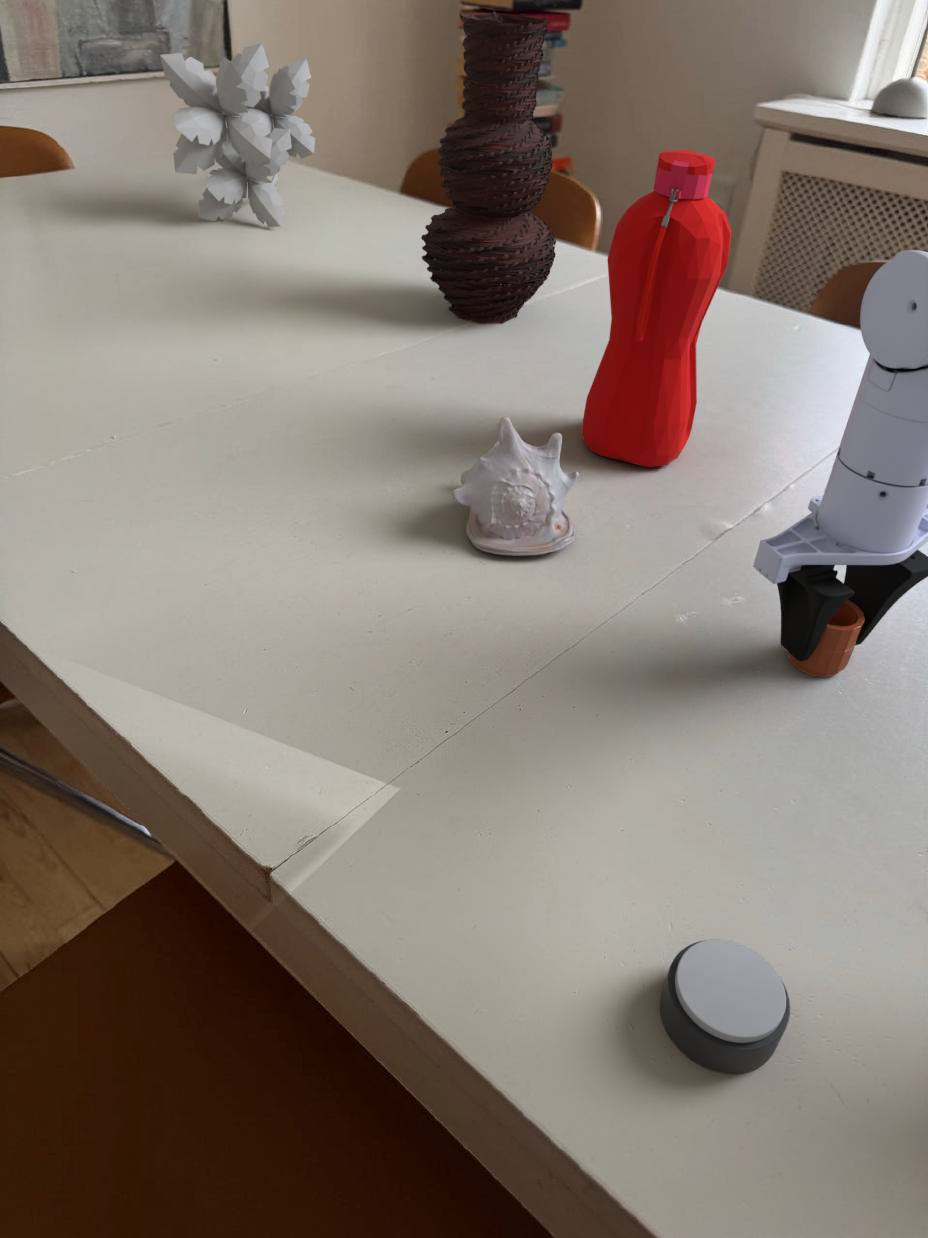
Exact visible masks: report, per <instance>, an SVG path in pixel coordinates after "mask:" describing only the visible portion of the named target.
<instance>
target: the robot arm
mask: <svg viewBox="0 0 928 1238" xmlns="http://www.w3.org/2000/svg"><path fill="white" fill-rule="evenodd" d="M863 293H864V294H863V297H862V300H861V305H860V312H859V313H860V314H859V325H860V331H861V332H860V333H861V337H862V340H863V344H864V347H865V348H866V350H867V352H868V353H869V354H868V359H867V362H866V364H865V367H864V370H863V374H862V377H861V380H860V382H859V386H858V389H857V392H856V395H855V397H854V400H853V403H852V407H851V410H850V413H849V417H848V420H847V421H846V425H845V428H844V430H843V434H842V437H841V439H840V443H839V446H838V449H837V452H836V454H835V455H836V456H835V458H834V462H833V465H832V468H831V471H830V473H829V478H828V480H827V483H826V486H825V489H824V493H823V495H819V496H815V497H812V498H810V500H809V503H808V506H807V510H808V511H809V512H811V513H809V514H807V515H806V516H805V517H803V518H801V519H800V520H799V521H796V523H794V524H793V525H791V526H790V527H788V528H786V529H785V530H784V531H782V532H780V533H778V534H776V535H774V536H772V537H769V538H765V539H762V540H760V541H759V545H758V548H757V551H756V555H755V558H754V562H753V565H752V567H753V568H754V569H755V570H756V571H757V572H758V573H759V574H760V575H761V576H763V577H764V578H765V579H767V580H768V581H769V582H770V583H771V584H773V585H776V586H777V591H778V597H779V604H780V605H779V606H780V646H781V647H782V648H783V649H784V650H786V652H787V651H788V652H789V653H790V654H791V655H792V656H793V657H795V658H796V659H797V660H798V661H800V662H801V661H804V660H808V658H809V657H810V656H811V655H812V653H813V652H814V651H815V649H816V647H817V645H818V643H819V641H820V638H821V636H822V634H823V632H824V630H825V628H826V626H827V624H828V623H829V621H830V620H831V618H832V616H833V615H834V614H835V613H836V611H837V610H838V609H839V608H840V607H841V605H842V604H843V603H844V602H845V601H846V600H850V601H851V602H853V603H854V604H856V605H857V606H858V607H859V608H860V609H861V610H862V612H863V613H864V618H865V621H864V624H863V626H862V629H861V631H860V634H859V637H858V639H857V642H856V644H855V647H856V646H859V645H861V644H862V643H863V642H864V641H865V640H866V639H867V638H868V637H869V635H870V634H871V633H872V631H873V630H875V627H876V626H877V625H878V624H879V623H880V621H881V620H882V619H883V618H884V617H885V615H886V614H887V613H888V612H889V610H890V609H891V608H892V607H893V606H894V605H895V604H896V603H897V602H898V601H899V600H900V599H901V598H902V597H903V596H904V595H906V593H908V592H909V591H910V590H911V589H912V588H914V587H915V586H916V585H918V584H919V583H921V582H922V581H923V580H925V579H927V578H928V555H926V554H925V553H924V552H922V551H920V548H922V547H924V546H925V544H927V543H928V251H924V250H917V249H913V250H911V249H910V250H908V249H907V250H900V251H899V252H897V253H896V254H895V255H894V256H893V258H892V259H890V260H888V261H887V262H885V263H884V264H883V265H882V266H880V267H879V268H878V269H877V270H876V271H875V272H874V274H873V276H872V277H871V279H870V280H869V282H868V284H867V286H866V288H865V291H864V292H863ZM836 566H846V567H845V574H844V580H843V581H841V580H840V579H839V578H838V577H837V576H838V573H839V572H838V569H837V570H836V569H834V568H835V567H836ZM788 652H787V653H788Z"/></svg>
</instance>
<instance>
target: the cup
mask: <svg viewBox="0 0 928 1238" xmlns="http://www.w3.org/2000/svg"><path fill="white" fill-rule="evenodd" d="M864 621H865V618H864V613H863V612H862V610H861V609H860V608H859V607H858V606H857V605H856V604H854V603H853V602H851V601H850V600H846V601H845V602H844V603H843V604H842V605H841V607H840V608H839V609H838V610H837V611H836V613H835V614H834V615H833V616H832V618H831V620H830V621H829V623H828V624H827V626H826V628H825V630H824V632H823V634H822V636H821V638H820V641H819V643H818V645H817V647H816V649H815V651H814V652H813V653H812V655H811V656H810V657H809V658H808V660H804V661H801V662H800V661H798V660H797V659H796V658H795V657H793V656H792V655H791V654H790V653H789V652H788V651H787V650H786V652H787V655H788V658H789V660H790V662H791V664H792V665H793V666H795V667H796V668H797V669H798V670H800V671H802V672H803V673H806V674H808V675H810V676H815V677H822V678H826V677H827V678H828V677H833V676H835V675H837V674H839V673H840V672H841V671H843V670H844V669H846V667H847V666H848V664H849V662H850V659H851V657H852V654H853V651H854V649H855V647H856V646H855V644H856V642H857V639H858V637H859V634H860V631H861V629H862V626H863V624H864Z"/></svg>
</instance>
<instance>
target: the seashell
mask: <svg viewBox="0 0 928 1238" xmlns="http://www.w3.org/2000/svg"><path fill="white" fill-rule="evenodd" d="M496 435H497V441H495V443H494V444H493V446H492V447H490V449H489V450H488V451H487V452H485V454H484V455H482V456H479V457H478V458H477V461H475V463H474V464H473V465H472V466H471V467H470V468H469V469H467V470H465V471H463V472H462V473H461V474H460V483H461V486H460V487H457V488H454V489H453V490H452V492H451V493H452V498H453V500H454V501H455V502H456V503H458V504H460V505H463V506H466V507H468V508H469V517H468V520H467V522H466V528H465V532H466V535H467V537H468V539H469V541H470V542H471V544H472V545H473V546H474V547H475V548H476V549H478V550H480V551H482V552H484V553H489V554H494V555H500V556H501V555H502V556H540V555H545V554H548V553H553V552H559V551H561V550H563V549H565V548H566V547H567V546H569V545H570V544H572V543H573V542H574V541H575V539H576V527H575V522H574V520H573V518H572V517H571V515H570V514H569V513H567V511H566V510H565V509H564V504H565V500H566V497H567V495H568V493H569V492H570V490H571V489H572V487H573V486H574V485H575V483H576V482H577V481H578V479H579V477H580V474H579V472H578V471H576V470H575V471H572V472H569V473H567V472H563V470H562V468H561V464H560V462H561V461H560V458H561V452H562V445H563V436H562V434H561V433H559V432H553V433H552V434H551V435H550V437H549V440H548V442H547V443H546V444H544V445H540V446H535V445H531V444H529V443H526V442H525V441H523V439H522V438H521V436H520V435H519V433H518V432H517V430H516V428H515V427H514V425H513V423H512V421H511V420H510V418H509V417H508V416H502V417H501V418H499V421H498V422H497V424H496Z"/></svg>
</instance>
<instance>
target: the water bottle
mask: <svg viewBox="0 0 928 1238" xmlns="http://www.w3.org/2000/svg"><path fill="white" fill-rule="evenodd" d="M715 165H716V160H715V158H714V157H712V156H711V155H709V154H705V153H702V152H697V151H693V150H690V149H675V150H674V149H673V150H664V151H662V152H659V154H658V160H657V166H656V171H655V178H654V183H653V189H652V190H653V191H651V192H649V193H647V194H645V195H644V196H641V197H640V198H638V199H636V200H635V202H634V203H632V205H630V206H629V207H628V208H626V210H625V212H624V213H623V214H622V216H621V217H620V219H619V220H618V222H617V223H616V225H615V229H614V233H613V236H612V240H611V245H610V248H609V252H608V255H607V258H606V259H607V271H608V287H609V300H610V301H609V302H610V313H611V314H610V315H611V320H610V329H609V338H608V342H607V344H606V347H605V349H604V352H603V355H602V358H601V360H600V362H599V365H598V368H597V371H596V373H595V376H594V378H593V381H592V383H591V386H590V388H589V391H588V394H587V396H586V399H585V407H584V410H583V411H584V412H583V418H582V427H581V433H582V439H583V440H582V441H583V443H584V444H585V445H586V446H587V447H588V449H589V450H591V451H592V452H593V453H594V454H596V455H597V456H601V457H605V458H609V459H612V460H613V459H614V460H618V461H622V462H626V463H630V464H632V465H635V466H636V465H637V466H640V467H644V468H648V469H649V468H655V467H657V468H658V467H665V466H667V465H669V464H670V463H671V462H673V461H675V460H677V459H678V458H679V457H680V456H681V455H680V454H681V453H682V452H683V450H684V448H685V447H686V445H687V443H688V442H689V438H690V435H691V433H692V430H693V424H694V419H695V414H696V409H697V403H698V395H697V394H698V390H697V387H698V386H697V385H698V383H697V380H698V379H697V375H698V373H697V372H698V371H697V343H698V339H699V335H700V332H701V328H702V323H703V321H704V319H705V317H706V315H707V312H708V310H709V308H710V305H711V303H712V301H713V299H714V297H715V294H716V292H717V290H718V288H719V286H720V283H721V281H722V279H723V277H724V274H725V273H726V270H727V268H728V263H729V255H730V248H731V239H732V229H731V226H730V223H729V219H728V215H727V213H726V212H725V211H724V210H723V209H722V208H721V207H720V206H719V205H718V204H717V203H716V202H714V200H712V199H711V198H710V197H709V192H710V186H711V182H712V178H713V174H714V170H715Z"/></svg>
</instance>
